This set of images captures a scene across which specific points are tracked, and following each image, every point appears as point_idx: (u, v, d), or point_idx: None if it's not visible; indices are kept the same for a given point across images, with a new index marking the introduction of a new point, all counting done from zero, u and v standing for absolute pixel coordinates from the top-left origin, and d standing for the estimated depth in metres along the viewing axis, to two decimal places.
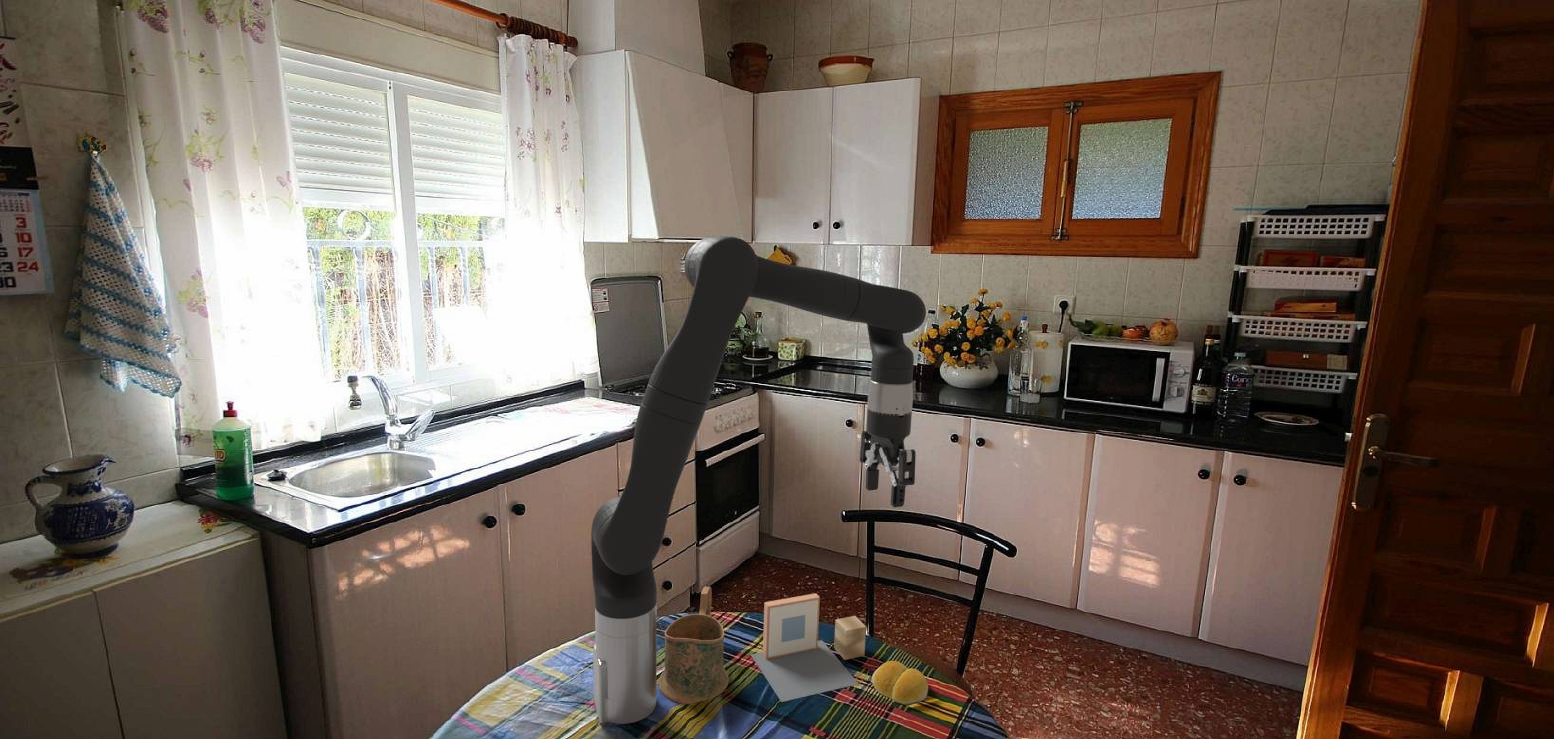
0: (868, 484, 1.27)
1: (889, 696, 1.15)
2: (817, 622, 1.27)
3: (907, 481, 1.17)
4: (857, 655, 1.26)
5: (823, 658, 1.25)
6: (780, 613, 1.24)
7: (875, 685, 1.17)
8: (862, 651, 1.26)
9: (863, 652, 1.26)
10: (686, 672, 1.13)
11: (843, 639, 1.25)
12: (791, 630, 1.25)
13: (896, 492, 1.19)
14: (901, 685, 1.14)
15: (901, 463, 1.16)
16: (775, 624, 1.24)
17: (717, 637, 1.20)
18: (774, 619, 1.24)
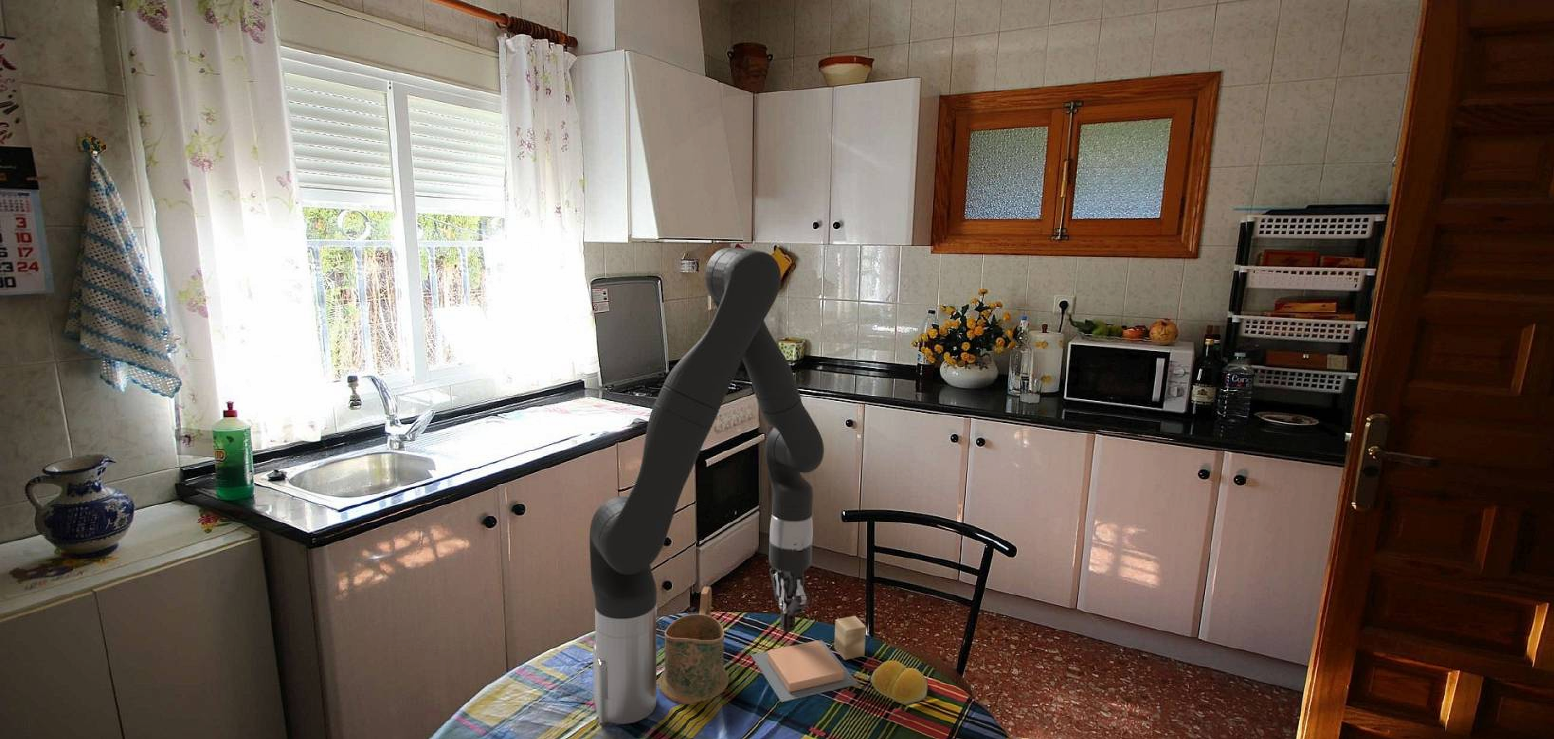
0: None
1: (889, 696, 1.15)
2: None
3: (795, 610, 1.24)
4: (857, 655, 1.26)
5: None
6: None
7: (874, 685, 1.17)
8: (862, 651, 1.26)
9: (863, 652, 1.26)
10: (686, 672, 1.13)
11: (843, 639, 1.25)
12: None
13: (786, 618, 1.26)
14: (901, 684, 1.15)
15: (793, 604, 1.22)
16: None
17: (717, 637, 1.20)
18: None
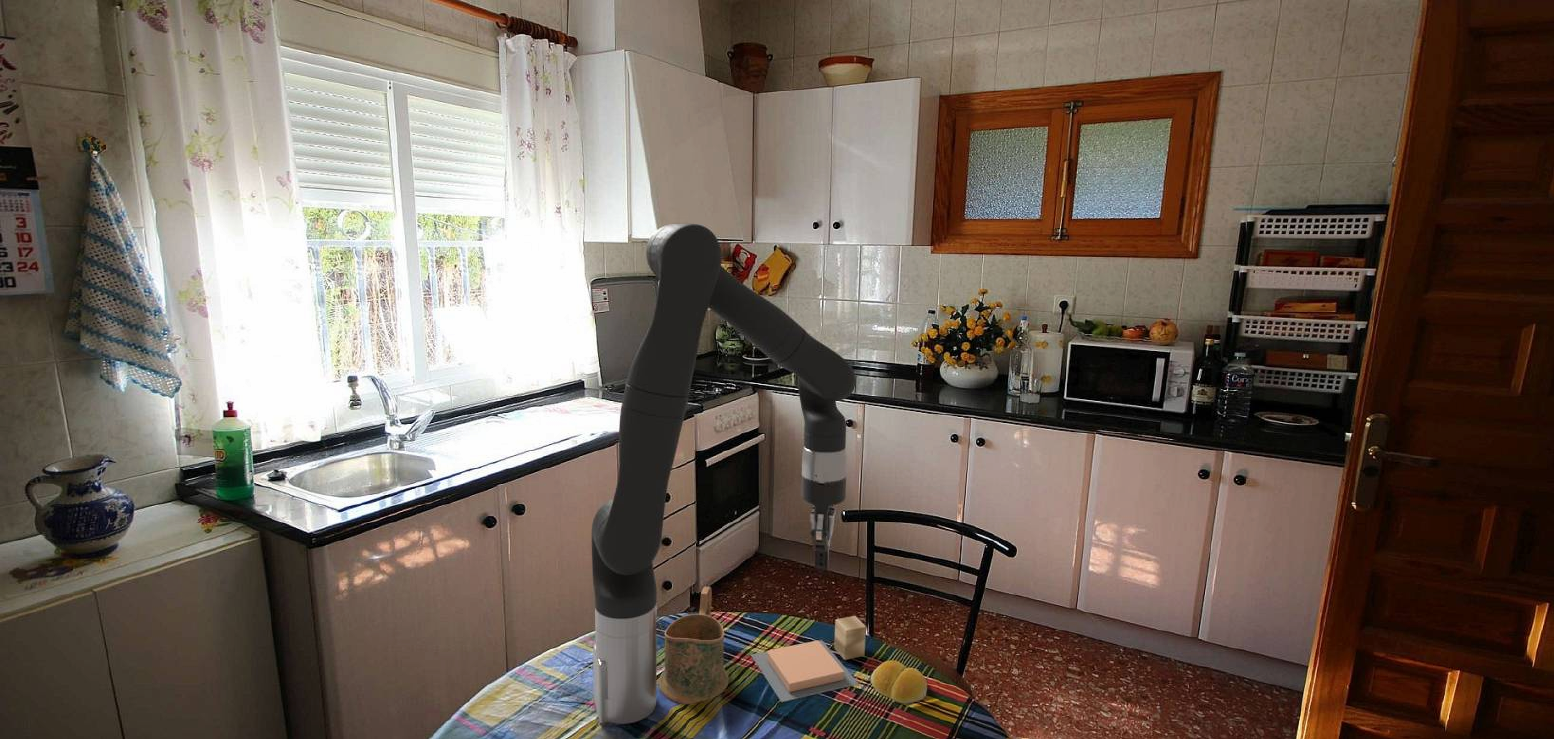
0: None
1: (888, 696, 1.15)
2: None
3: (819, 546, 1.19)
4: (857, 655, 1.26)
5: None
6: None
7: (874, 685, 1.17)
8: (862, 651, 1.26)
9: (863, 652, 1.26)
10: (686, 672, 1.13)
11: (843, 639, 1.25)
12: None
13: (817, 555, 1.22)
14: (901, 684, 1.15)
15: None
16: None
17: (717, 637, 1.20)
18: None
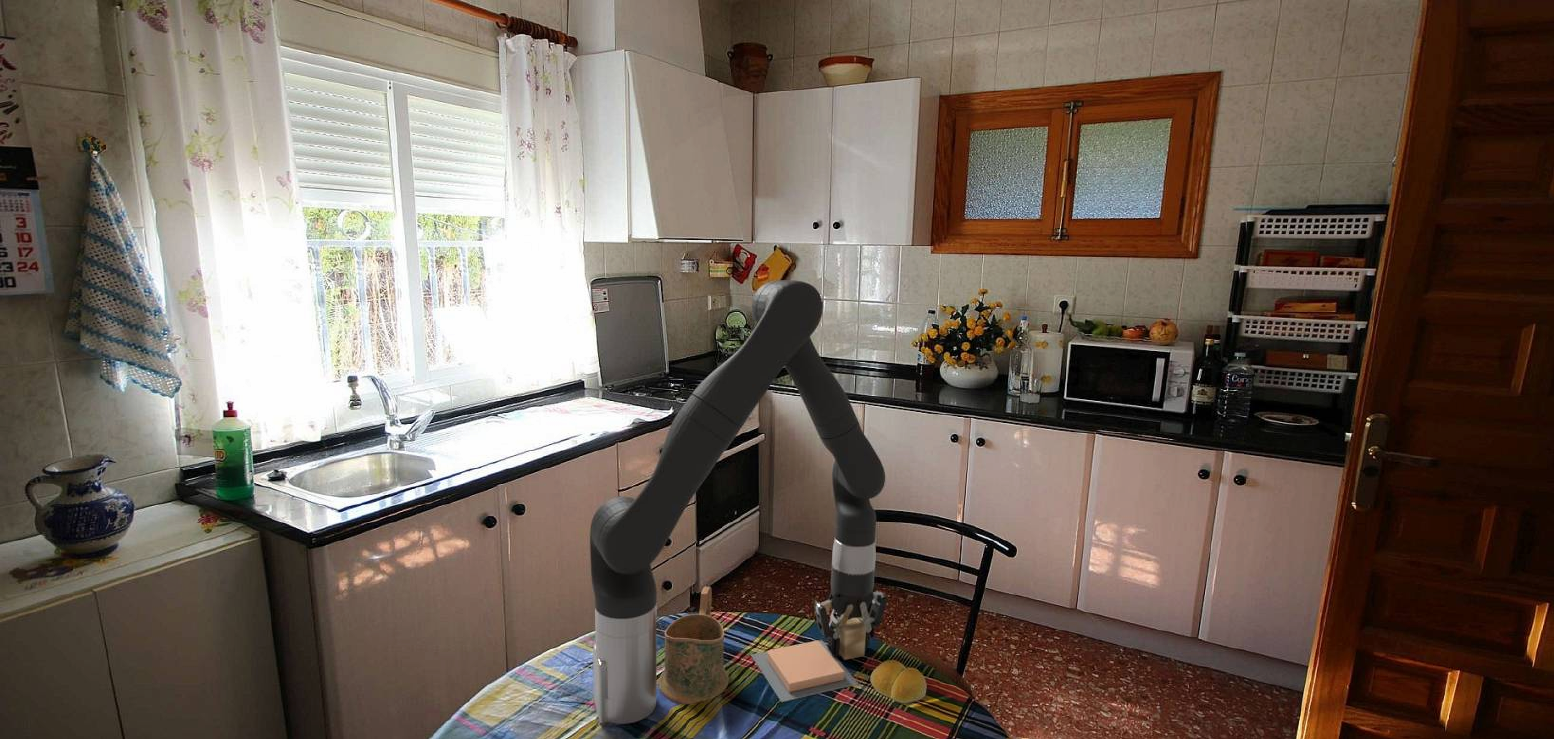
0: None
1: (888, 695, 1.15)
2: None
3: (821, 629, 1.25)
4: (857, 655, 1.26)
5: None
6: None
7: (874, 684, 1.17)
8: (862, 651, 1.26)
9: (863, 652, 1.26)
10: (686, 672, 1.13)
11: (843, 639, 1.25)
12: None
13: (831, 639, 1.27)
14: (900, 684, 1.15)
15: None
16: None
17: (717, 637, 1.20)
18: None
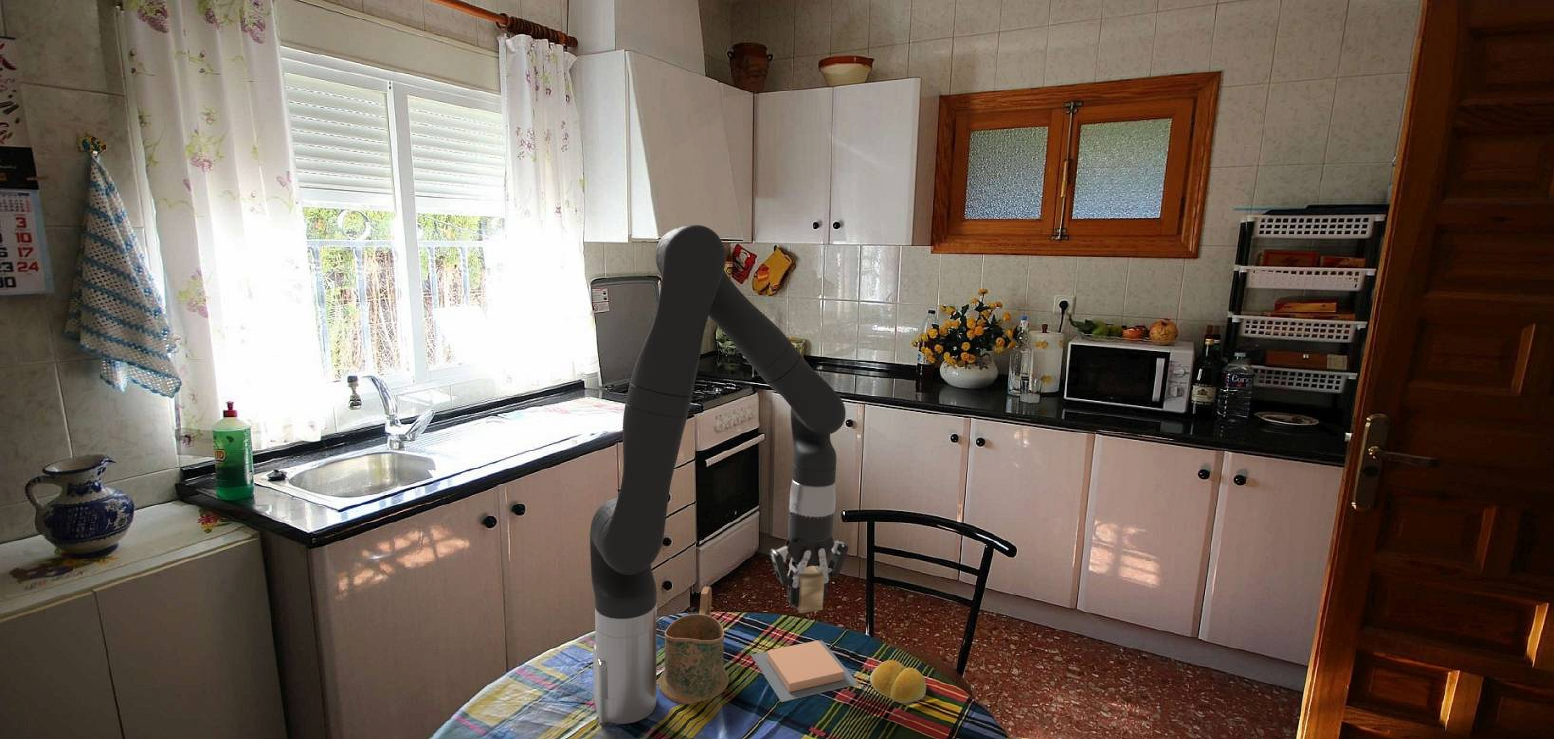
0: None
1: (887, 695, 1.15)
2: None
3: (780, 577, 1.17)
4: (814, 606, 1.18)
5: None
6: None
7: (873, 685, 1.17)
8: (820, 602, 1.18)
9: (821, 603, 1.18)
10: (686, 672, 1.13)
11: None
12: None
13: None
14: (900, 684, 1.15)
15: None
16: None
17: (717, 637, 1.20)
18: None
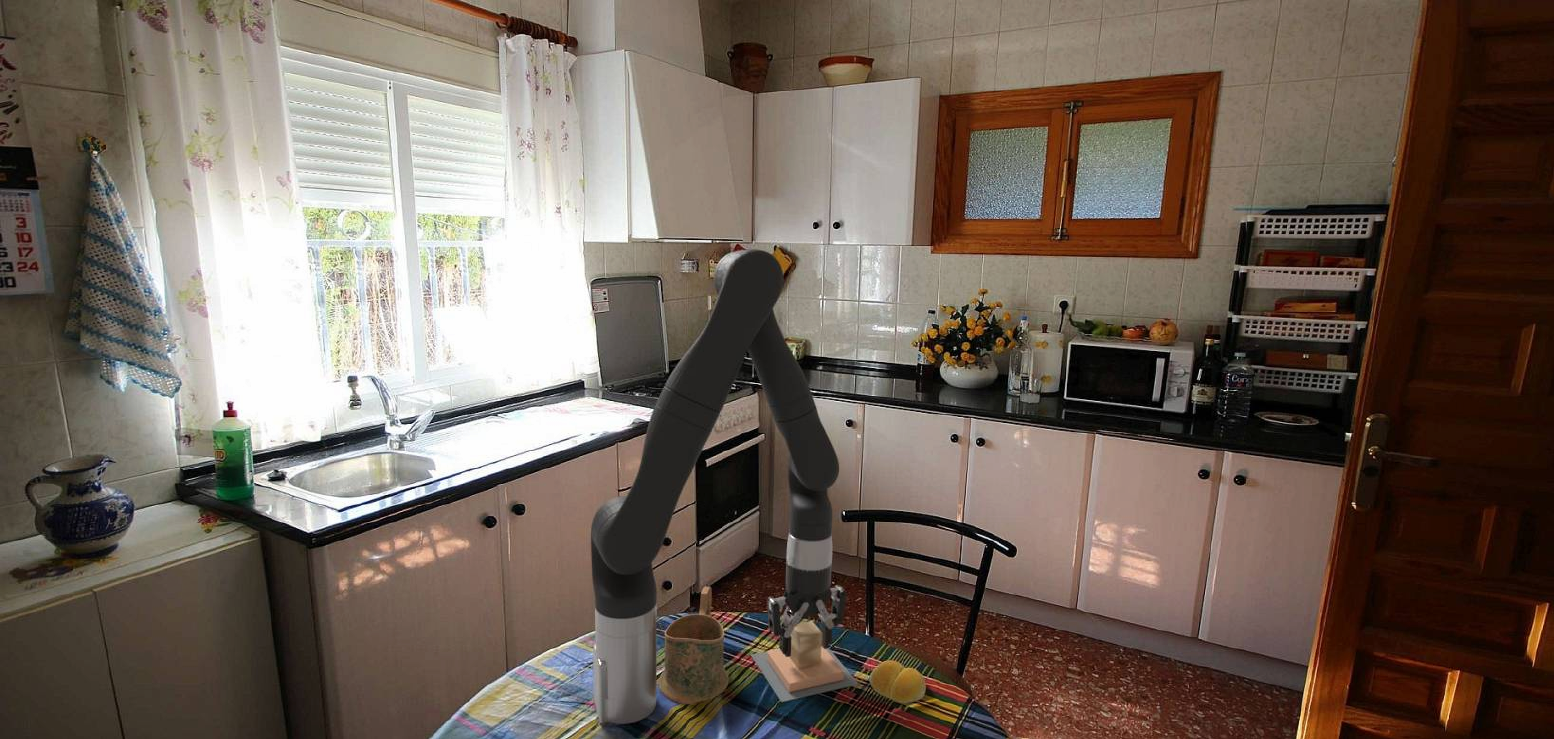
0: None
1: (887, 696, 1.15)
2: None
3: (771, 628, 1.18)
4: (813, 663, 1.20)
5: None
6: None
7: (873, 685, 1.17)
8: (818, 658, 1.20)
9: (819, 659, 1.20)
10: (686, 672, 1.13)
11: (797, 646, 1.19)
12: None
13: None
14: (899, 684, 1.15)
15: None
16: None
17: (717, 637, 1.20)
18: None
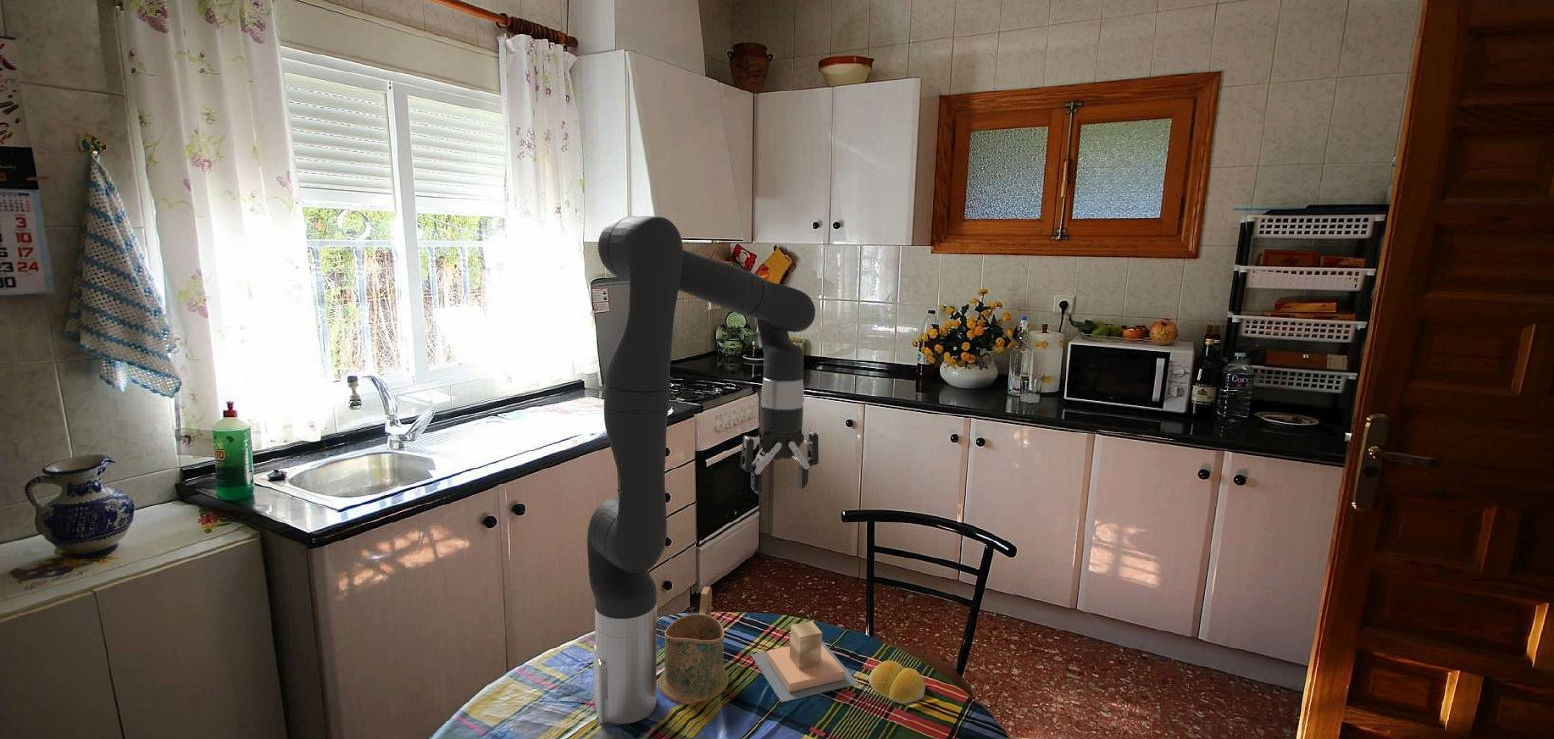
0: (797, 480, 1.31)
1: (886, 696, 1.15)
2: None
3: (743, 465, 1.26)
4: (813, 663, 1.20)
5: None
6: None
7: (872, 685, 1.17)
8: (818, 658, 1.20)
9: (819, 659, 1.20)
10: (686, 672, 1.13)
11: (797, 646, 1.19)
12: None
13: None
14: (899, 684, 1.15)
15: (744, 447, 1.26)
16: None
17: (717, 637, 1.20)
18: None
